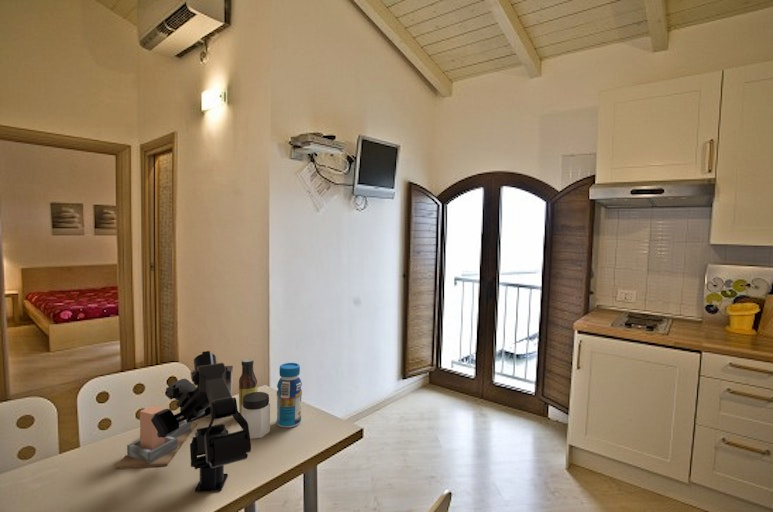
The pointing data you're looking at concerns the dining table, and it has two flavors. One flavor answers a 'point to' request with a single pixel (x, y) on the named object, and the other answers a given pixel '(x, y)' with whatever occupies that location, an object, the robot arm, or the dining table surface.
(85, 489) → the dining table surface
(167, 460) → the cap board
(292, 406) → the beverage bottle
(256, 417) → the jar
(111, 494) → the dining table surface
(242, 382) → the sauce bottle
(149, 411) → the pink rectangular block
